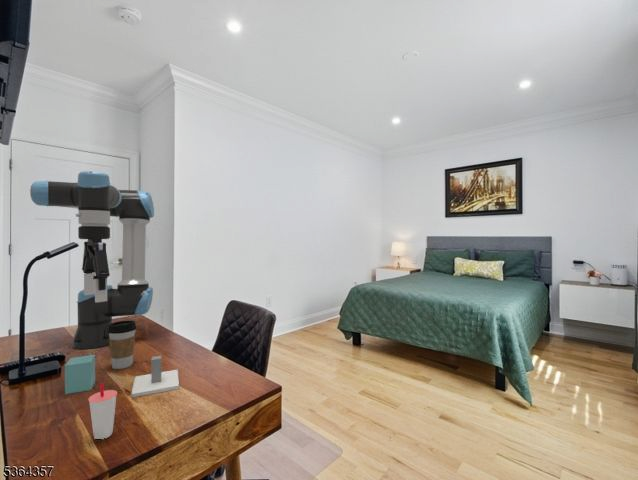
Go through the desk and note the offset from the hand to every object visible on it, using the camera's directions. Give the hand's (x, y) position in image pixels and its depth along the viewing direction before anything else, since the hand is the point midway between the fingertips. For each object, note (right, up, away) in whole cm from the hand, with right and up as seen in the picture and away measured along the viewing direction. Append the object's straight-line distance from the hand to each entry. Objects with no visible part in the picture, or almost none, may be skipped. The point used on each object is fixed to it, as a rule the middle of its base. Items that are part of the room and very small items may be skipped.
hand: (95, 298), depth 92 cm
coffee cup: (-2, -26, +16) cm, 31 cm away
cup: (+17, -27, -21) cm, 39 cm away
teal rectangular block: (-4, -26, 0) cm, 27 cm away
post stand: (+17, -27, +3) cm, 31 cm away
